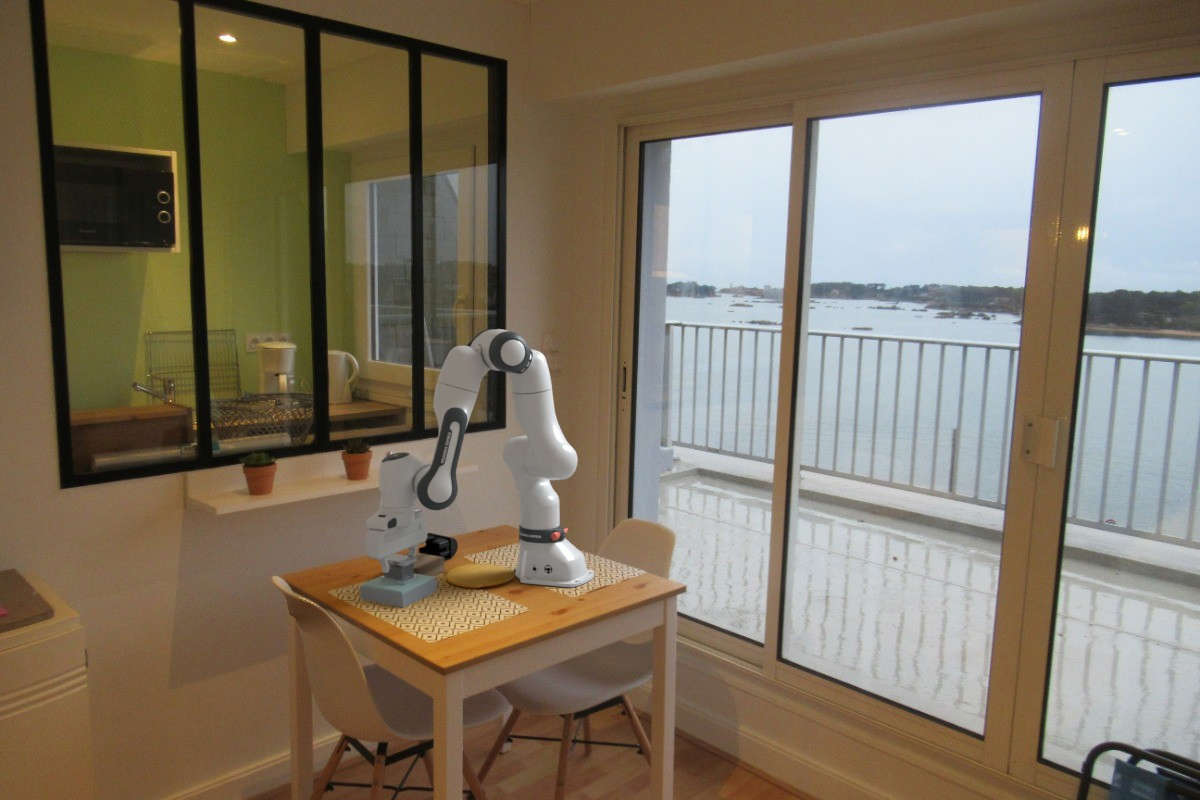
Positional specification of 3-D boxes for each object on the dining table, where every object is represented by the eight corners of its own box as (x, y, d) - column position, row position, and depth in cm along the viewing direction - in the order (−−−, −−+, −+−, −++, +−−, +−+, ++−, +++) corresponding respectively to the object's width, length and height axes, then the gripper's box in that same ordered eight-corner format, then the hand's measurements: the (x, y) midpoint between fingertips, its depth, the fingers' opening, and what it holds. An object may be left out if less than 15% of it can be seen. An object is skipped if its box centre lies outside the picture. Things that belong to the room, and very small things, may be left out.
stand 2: (444, 570, 243) (444, 557, 243) (417, 582, 233) (417, 568, 232) (411, 565, 249) (411, 551, 248) (383, 576, 238) (383, 562, 237)
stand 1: (437, 591, 226) (437, 576, 225) (402, 607, 213) (402, 592, 213) (396, 583, 232) (395, 569, 232) (360, 599, 220) (359, 584, 219)
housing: (417, 579, 223) (417, 557, 222) (404, 585, 218) (404, 562, 218) (393, 575, 226) (393, 553, 226) (380, 580, 222) (379, 558, 221)
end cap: (458, 557, 257) (458, 535, 256) (441, 563, 251) (441, 541, 250) (435, 552, 262) (434, 530, 261) (417, 557, 256) (417, 535, 256)
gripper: (413, 505, 231) (414, 555, 233) (361, 522, 213) (362, 576, 214) (432, 508, 228) (433, 558, 230) (380, 525, 210) (382, 579, 212)
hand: (398, 566), depth 222 cm, fingers open, 8 cm apart
